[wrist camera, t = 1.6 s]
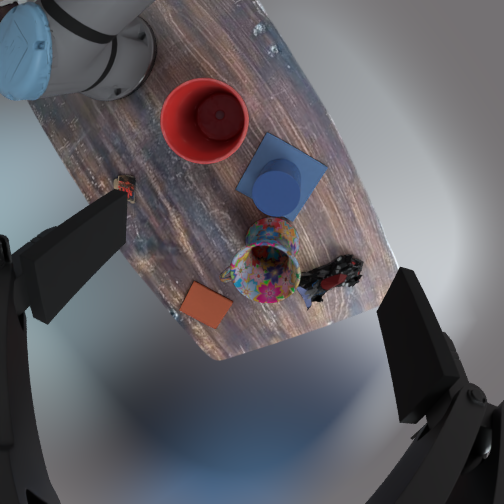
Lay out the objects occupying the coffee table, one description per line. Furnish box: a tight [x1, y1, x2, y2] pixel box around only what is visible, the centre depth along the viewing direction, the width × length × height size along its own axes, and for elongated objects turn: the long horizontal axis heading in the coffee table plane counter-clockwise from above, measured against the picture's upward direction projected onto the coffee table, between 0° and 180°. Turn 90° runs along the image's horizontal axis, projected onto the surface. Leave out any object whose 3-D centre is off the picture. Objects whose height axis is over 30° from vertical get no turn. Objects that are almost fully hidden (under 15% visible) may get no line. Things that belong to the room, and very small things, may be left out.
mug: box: [219, 217, 301, 303], centre depth 47 cm, size 12×9×11 cm
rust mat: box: [180, 281, 233, 329], centre depth 59 cm, size 8×8×1 cm
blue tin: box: [252, 159, 301, 217], centre depth 42 cm, size 6×6×8 cm
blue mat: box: [236, 132, 328, 222], centre depth 46 cm, size 10×10×1 cm
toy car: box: [297, 254, 363, 310], centre depth 51 cm, size 6×12×4 cm, turn 122°
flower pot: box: [160, 78, 249, 164], centre depth 39 cm, size 11×11×10 cm
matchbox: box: [113, 174, 136, 203], centre depth 51 cm, size 5×5×1 cm
